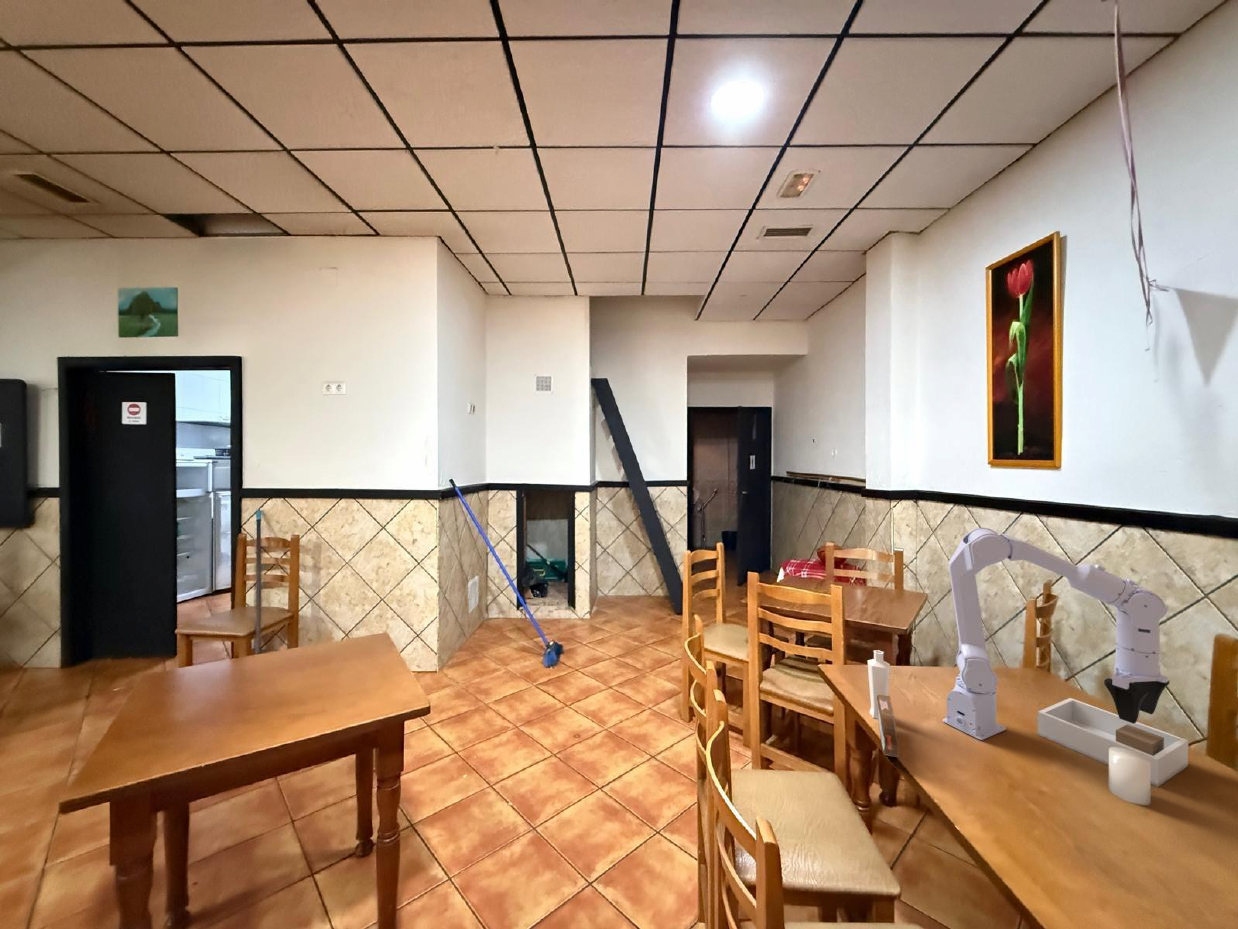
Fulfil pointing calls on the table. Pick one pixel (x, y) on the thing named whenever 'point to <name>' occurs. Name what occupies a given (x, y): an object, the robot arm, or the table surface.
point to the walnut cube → (1140, 739)
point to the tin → (887, 726)
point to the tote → (1107, 736)
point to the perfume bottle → (877, 680)
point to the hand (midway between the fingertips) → (1136, 716)
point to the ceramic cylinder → (1130, 775)
